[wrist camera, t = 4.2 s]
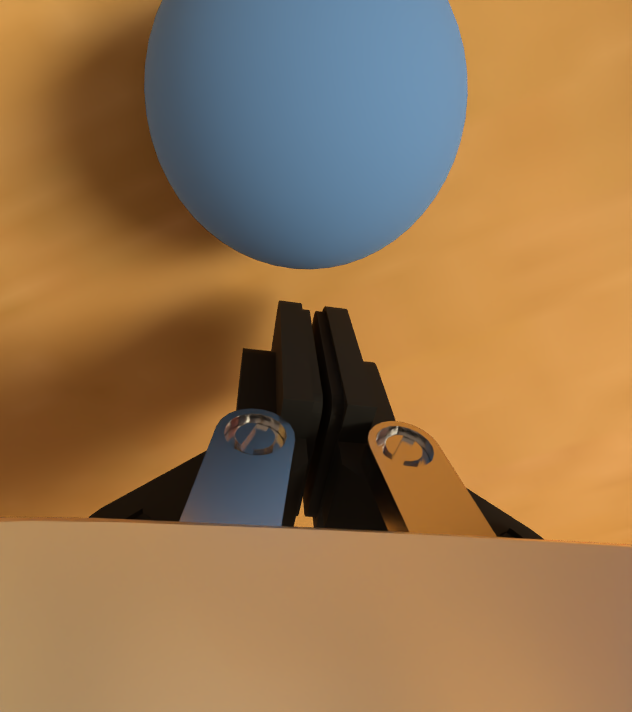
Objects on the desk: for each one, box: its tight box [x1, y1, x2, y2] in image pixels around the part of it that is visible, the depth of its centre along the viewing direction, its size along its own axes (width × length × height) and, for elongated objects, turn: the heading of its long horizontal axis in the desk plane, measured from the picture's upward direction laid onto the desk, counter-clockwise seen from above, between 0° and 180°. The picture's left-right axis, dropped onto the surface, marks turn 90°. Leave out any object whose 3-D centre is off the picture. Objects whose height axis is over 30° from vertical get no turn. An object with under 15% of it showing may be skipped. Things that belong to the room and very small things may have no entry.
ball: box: [144, 0, 467, 269], centre depth 9 cm, size 6×6×6 cm
